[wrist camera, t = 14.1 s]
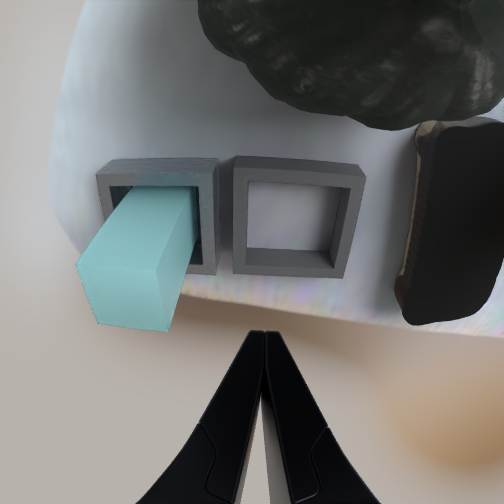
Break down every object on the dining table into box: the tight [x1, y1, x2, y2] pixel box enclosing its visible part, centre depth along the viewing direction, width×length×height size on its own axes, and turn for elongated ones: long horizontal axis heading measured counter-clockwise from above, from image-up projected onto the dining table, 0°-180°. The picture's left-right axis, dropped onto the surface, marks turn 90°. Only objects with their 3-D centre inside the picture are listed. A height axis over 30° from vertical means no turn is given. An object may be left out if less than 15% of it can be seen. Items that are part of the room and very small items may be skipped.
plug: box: [76, 186, 198, 332], centre depth 18 cm, size 4×4×9 cm
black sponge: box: [394, 116, 504, 326], centre depth 20 cm, size 16×8×4 cm, turn 7°
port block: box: [96, 158, 220, 275], centre depth 20 cm, size 7×7×2 cm
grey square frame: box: [233, 156, 366, 279], centre depth 21 cm, size 8×8×2 cm
